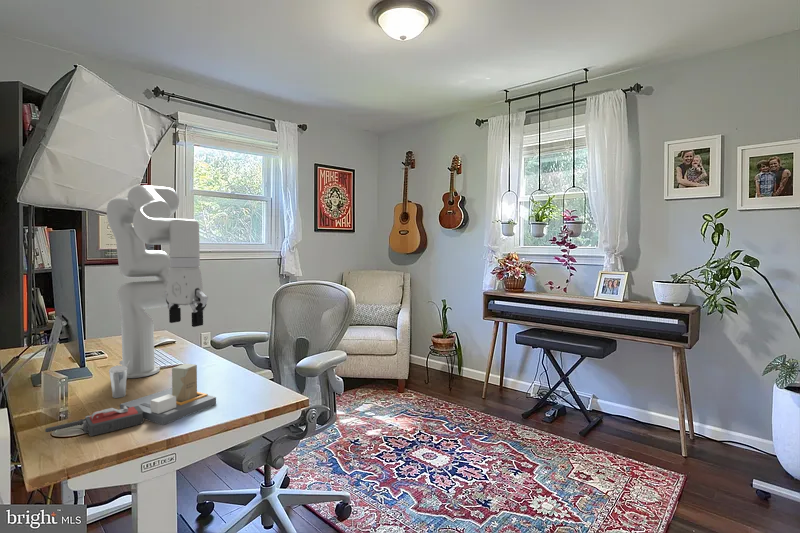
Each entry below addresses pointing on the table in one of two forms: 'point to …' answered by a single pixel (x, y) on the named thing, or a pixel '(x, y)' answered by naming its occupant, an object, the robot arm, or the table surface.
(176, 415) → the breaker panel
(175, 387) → the box
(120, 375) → the milkshake
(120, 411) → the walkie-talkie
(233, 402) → the table surface
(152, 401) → the block
